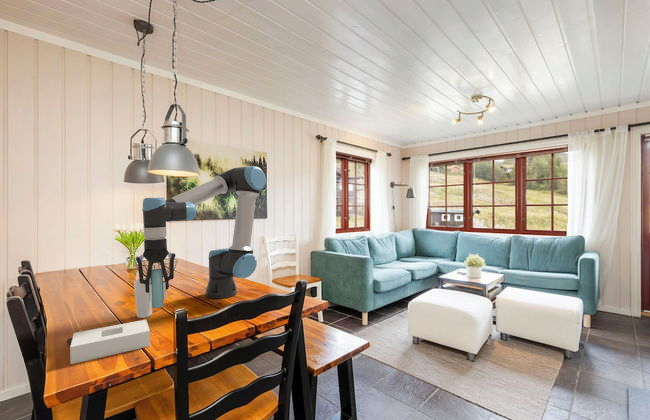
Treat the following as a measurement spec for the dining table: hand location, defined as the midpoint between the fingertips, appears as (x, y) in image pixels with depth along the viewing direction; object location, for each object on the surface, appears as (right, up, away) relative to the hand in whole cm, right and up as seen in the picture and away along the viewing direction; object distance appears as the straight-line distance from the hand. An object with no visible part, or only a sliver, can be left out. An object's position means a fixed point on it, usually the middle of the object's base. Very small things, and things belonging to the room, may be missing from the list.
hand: (157, 299), depth 119 cm
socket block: (-4, -10, -19) cm, 22 cm away
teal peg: (0, -3, 0) cm, 3 cm away
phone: (-15, -10, -11) cm, 21 cm away
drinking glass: (-10, -10, +9) cm, 17 cm away
